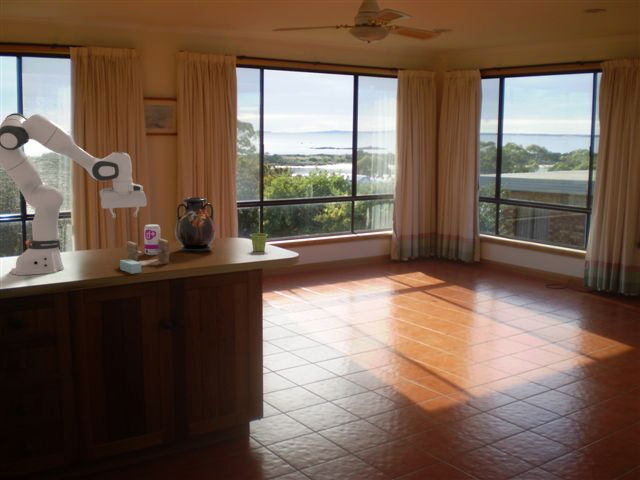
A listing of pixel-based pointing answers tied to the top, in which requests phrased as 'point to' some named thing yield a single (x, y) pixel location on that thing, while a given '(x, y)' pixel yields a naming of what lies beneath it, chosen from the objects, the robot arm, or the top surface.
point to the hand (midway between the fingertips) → (124, 217)
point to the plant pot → (258, 241)
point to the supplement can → (151, 238)
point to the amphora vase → (195, 226)
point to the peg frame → (162, 250)
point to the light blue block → (130, 266)
